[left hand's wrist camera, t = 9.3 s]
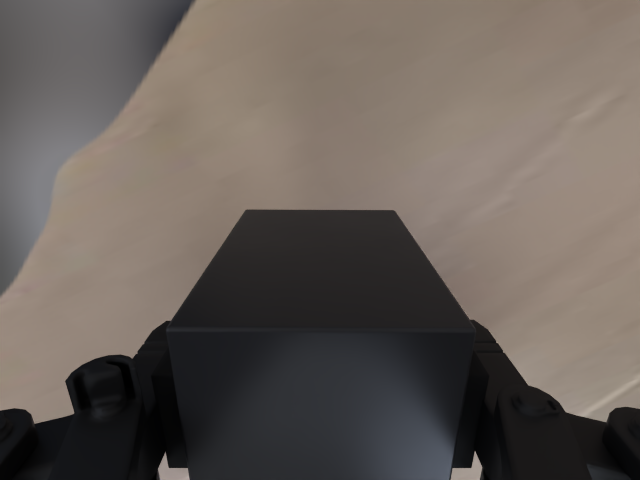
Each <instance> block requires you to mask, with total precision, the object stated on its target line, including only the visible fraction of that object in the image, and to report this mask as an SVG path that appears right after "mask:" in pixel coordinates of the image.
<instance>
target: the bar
mask: <svg viewBox="0 0 640 480" xmlns="http://www.w3.org/2000/svg"><path fill="white" fill-rule="evenodd" d="M166 334H167V341H168V347H169V353H170V359H171V366H172V372H173V378H174V384H175V390H176V397H177V403H178V409H179V415H180V422H181V428H182V434H183V440H184V447H185V453H186V459H187V465H188V472H189V478H190V480H450V479H451V473H452V468H453V462H454V456H455V451H456V445H457V439H458V433H459V428H460V422H461V416H462V411H463V405H464V399H465V393H466V388H467V382H468V376H469V370H470V365H471V359H472V353H473V348H474V342H475V336H476V329H475V327H474V325H473V324H472V323H471V321H470V320H469V318H468V317H467V315H466V314H465V312H464V311H463V309H462V308H461V307H460V305H459V304H458V302H457V301H456V299H455V298H454V296H453V295H452V293H451V292H450V290H449V289H448V288H447V286H446V285H445V283H444V282H443V280H442V279H441V277H440V276H439V274H438V273H437V272H436V270H435V269H434V267H433V266H432V264H431V263H430V261H429V260H428V258H427V257H426V256H425V254H424V253H423V251H422V250H421V248H420V247H419V245H418V244H417V242H416V241H415V240H414V238H413V237H412V235H411V234H410V232H409V231H408V229H407V228H406V226H405V225H404V223H403V222H402V221H401V219H400V218H399V216H398V215H397V213H396V212H395V211H394V210H245V212H244V213H243V215H242V216H241V218H240V219H239V221H238V222H237V224H236V225H235V227H234V228H233V230H232V231H231V233H230V234H229V236H228V237H227V238H226V240H225V241H224V243H223V244H222V246H221V247H220V249H219V250H218V252H217V253H216V255H215V256H214V258H213V259H212V261H211V262H210V264H209V265H208V267H207V268H206V270H205V271H204V273H203V274H202V276H201V277H200V279H199V280H198V282H197V283H196V285H195V286H194V288H193V289H192V290H191V292H190V293H189V295H188V296H187V298H186V299H185V301H184V302H183V304H182V305H181V307H180V308H179V310H178V311H177V313H176V314H175V316H174V317H173V319H172V320H171V322H170V323H169V325H168V326H167V328H166Z"/></svg>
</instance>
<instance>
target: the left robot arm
mask: <svg viewBox="0 0 640 480" xmlns="http://www.w3.org/2000/svg"><path fill="white" fill-rule="evenodd" d="M470 321H471V323H472V324H473V325H474V327H475V329H476V336H475V342H474V348H473V353H472V359H471V365H470V370H469V376H468V382H467V388H466V393H465V399H464V405H463V411H462V416H461V422H460V428H459V433H458V439H457V445H456V451H455V456H454V462H453V468H471V467H472V462H473V457H474V452H475V451H476V454H477V456H478V458H479V460H480V463H481V465H482V472H481V477H480V480H640V409H636V408H630V407H621V408H615V409H614V410H613V411H612V412H610V414H609V417H608V419H607V422H602V421H598V420H593V419H589V418H585V417H580V416H576V415H573V414H569V413H566V412H565V411H564V409H563V408H562V406H561V405H560V403H559V402H558V401H556V400H555V399H554V398H553V397H552V396H551V395H549V394H547V393H545V392H544V391H542V390H540V389H538V388H535V387H531V386H528V385H527V383H526V382H525V380H524V379H523V378H522V376H521V375H520V374H519V372H518V371H517V369H516V368H515V367H514V365H513V364H512V362H511V361H510V360H509V358H508V357H507V356H506V354H505V353H503V350H502V349H501V347H500V346H499V344H498V343H496V340H495V339H494V338H493V336H492V335H491V333H490V332H489V331H488V329H486V328H485V327H483V326H482V325H480V324H479V323H478V322H476V321H475V320H470ZM170 322H171V321H166V322H164V323H163V324H162V325H160V326H159V327H157V328H156V329H155V330H153V331H152V332H151V334H150V335H149V337H148V338H147V339H146V341H145V343H144V344H143V345H142V346H141V348H140V349H139V351H138V354H136V355H135V356H134V358H133V359H132V358H130V357H128V356H124V355H108V356H104V357H100V358H97V359H94V360H92V361H90V362H87V363H85V364H83V365H81V366H80V367H79V368H77V369H76V370H75V371H73V372H72V373H71V374H70V376H69V377H68V378H67V380H66V381H65V382H66V385H67V389H68V392H69V395H70V399H71V402H72V406H73V409H74V412H75V413H74V414H73V415H70V416H66V417H62V418H58V419H54V420H49V421H45V422H41V423H37V424H34V421H33V418H32V416H31V414H30V413H29V412H27V411H26V410H23V409H15V408H14V409H8V410H2V411H0V480H160V478H159V472H158V467H159V465H160V463H161V461H162V458H163V456H164V454H165V451H166V456H167V461H168V466H169V468H188V465H187V459H186V453H185V447H184V440H183V434H182V428H181V422H180V415H179V409H178V403H177V397H176V390H175V384H174V378H173V372H172V366H171V359H170V353H169V347H168V341H167V334H166V328H167V326H168V325H169V323H170Z"/></svg>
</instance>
